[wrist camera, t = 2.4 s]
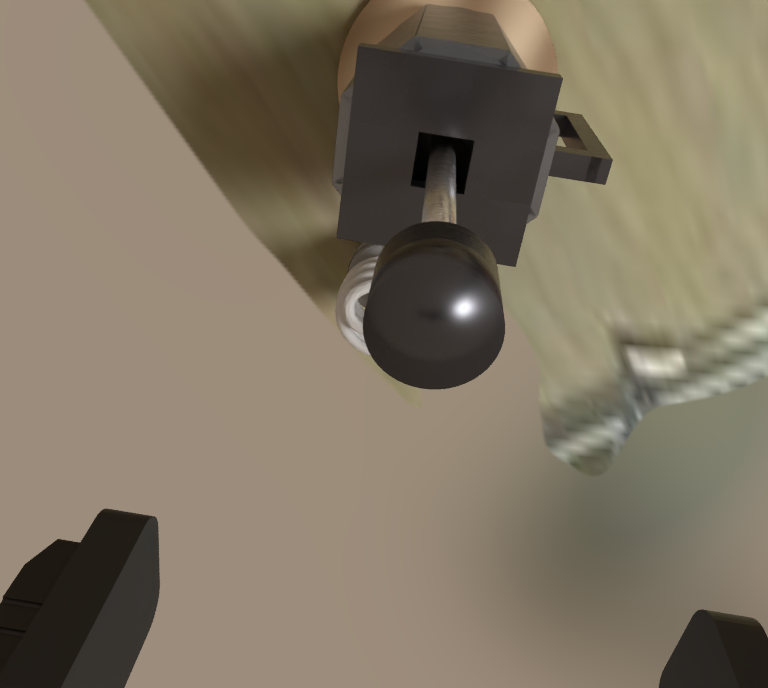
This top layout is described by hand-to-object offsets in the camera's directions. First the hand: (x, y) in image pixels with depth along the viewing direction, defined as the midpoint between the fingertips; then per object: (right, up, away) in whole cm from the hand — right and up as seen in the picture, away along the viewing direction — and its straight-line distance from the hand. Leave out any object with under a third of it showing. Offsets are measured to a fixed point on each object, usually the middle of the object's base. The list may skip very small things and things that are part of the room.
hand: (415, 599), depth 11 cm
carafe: (+5, +20, +35) cm, 41 cm away
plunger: (+2, +14, +25) cm, 29 cm away
